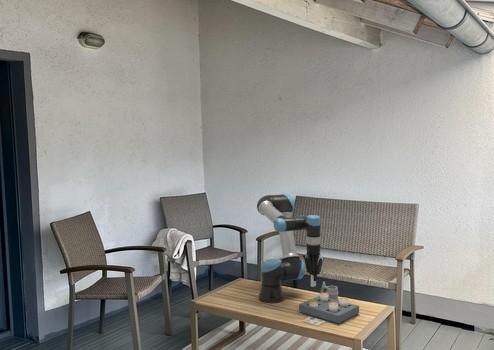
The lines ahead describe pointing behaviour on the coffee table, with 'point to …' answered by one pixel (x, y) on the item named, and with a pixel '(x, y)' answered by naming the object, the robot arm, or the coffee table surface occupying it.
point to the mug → (330, 291)
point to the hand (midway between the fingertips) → (313, 286)
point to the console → (323, 311)
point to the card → (314, 321)
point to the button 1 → (313, 304)
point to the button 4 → (343, 302)
